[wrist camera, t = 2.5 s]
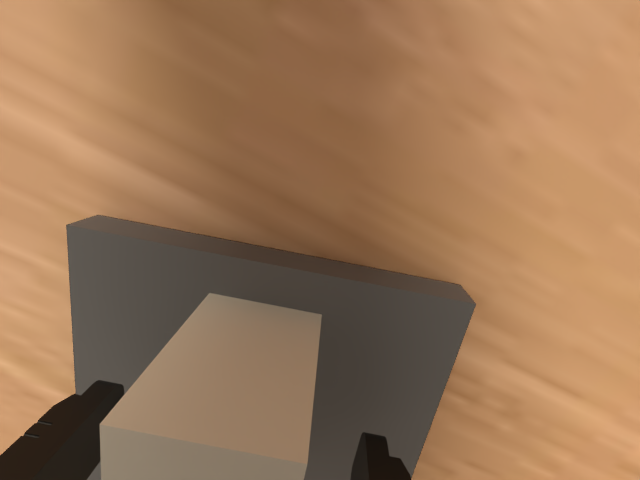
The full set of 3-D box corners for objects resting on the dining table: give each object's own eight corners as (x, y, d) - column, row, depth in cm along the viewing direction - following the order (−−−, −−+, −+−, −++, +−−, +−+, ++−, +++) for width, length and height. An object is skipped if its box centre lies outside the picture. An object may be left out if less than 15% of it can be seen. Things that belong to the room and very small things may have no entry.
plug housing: (209, 292, 11) (99, 424, 6) (322, 314, 11) (307, 464, 6) (195, 442, 14) (105, 635, 8) (291, 461, 14) (260, 664, 8)
